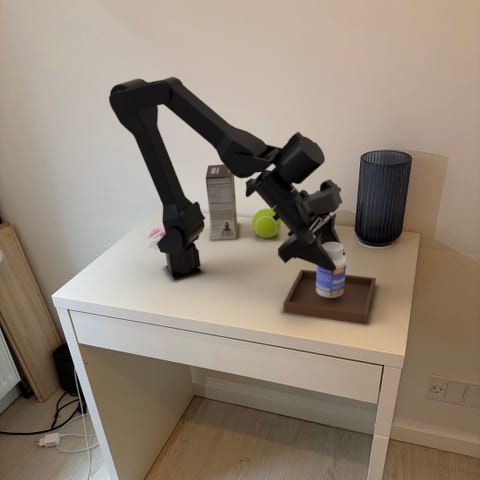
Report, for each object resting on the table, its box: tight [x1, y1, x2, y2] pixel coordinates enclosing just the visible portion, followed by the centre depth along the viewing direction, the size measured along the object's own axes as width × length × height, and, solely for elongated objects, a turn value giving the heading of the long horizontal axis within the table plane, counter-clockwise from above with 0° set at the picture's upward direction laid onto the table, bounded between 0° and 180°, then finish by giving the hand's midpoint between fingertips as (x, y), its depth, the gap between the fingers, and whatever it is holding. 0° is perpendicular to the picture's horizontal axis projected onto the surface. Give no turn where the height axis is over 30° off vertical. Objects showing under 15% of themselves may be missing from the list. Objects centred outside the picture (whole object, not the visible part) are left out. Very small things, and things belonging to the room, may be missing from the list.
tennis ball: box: [251, 208, 282, 239], centre depth 119 cm, size 7×7×7 cm
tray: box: [283, 268, 377, 325], centre depth 95 cm, size 15×13×2 cm
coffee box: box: [205, 163, 238, 241], centre depth 120 cm, size 9×6×16 cm
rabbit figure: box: [147, 223, 166, 240], centre depth 122 cm, size 6×6×15 cm
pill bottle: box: [316, 242, 347, 298], centre depth 92 cm, size 5×5×10 cm
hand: (338, 262), depth 90 cm, fingers closed on pill bottle, 5 cm apart
